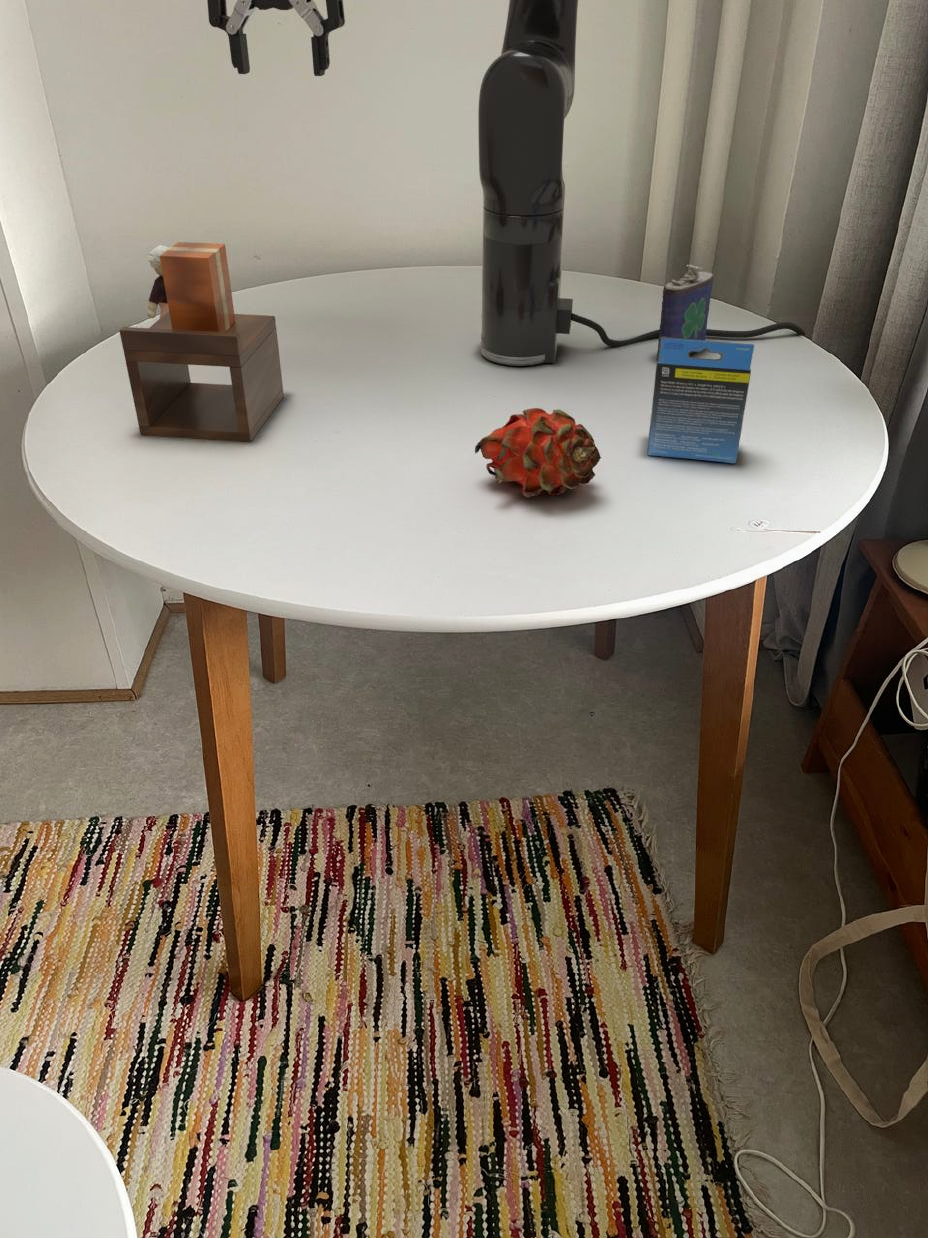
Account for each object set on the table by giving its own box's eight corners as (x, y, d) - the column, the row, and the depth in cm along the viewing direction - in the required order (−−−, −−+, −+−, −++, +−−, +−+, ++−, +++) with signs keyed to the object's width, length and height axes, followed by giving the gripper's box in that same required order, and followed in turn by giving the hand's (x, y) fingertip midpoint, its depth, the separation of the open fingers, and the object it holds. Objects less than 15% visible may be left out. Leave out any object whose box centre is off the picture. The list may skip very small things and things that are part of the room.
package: (236, 321, 106) (225, 243, 101) (220, 337, 102) (208, 257, 97) (190, 319, 106) (177, 241, 102) (172, 335, 102) (158, 255, 98)
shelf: (283, 396, 113) (273, 296, 106) (250, 442, 103) (236, 336, 97) (182, 390, 114) (165, 291, 108) (140, 434, 105) (118, 329, 98)
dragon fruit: (603, 518, 94) (483, 514, 98) (615, 438, 96) (497, 437, 100) (586, 475, 86) (456, 472, 90) (599, 389, 89) (472, 391, 93)
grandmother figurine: (180, 362, 121) (162, 255, 114) (151, 360, 122) (131, 253, 114) (206, 340, 127) (190, 237, 120) (178, 338, 128) (160, 235, 120)
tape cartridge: (736, 448, 102) (756, 330, 95) (735, 465, 99) (757, 344, 92) (648, 439, 104) (662, 322, 96) (645, 456, 101) (659, 336, 93)
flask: (691, 340, 127) (703, 254, 121) (711, 345, 126) (724, 259, 120) (650, 360, 122) (660, 271, 116) (671, 366, 120) (682, 276, 114)
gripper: (183, -110, 98) (207, 77, 107) (324, -110, 96) (337, 80, 105) (209, -109, 104) (230, 68, 113) (343, -109, 102) (353, 71, 111)
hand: (282, 74), depth 109 cm, fingers open, 8 cm apart
